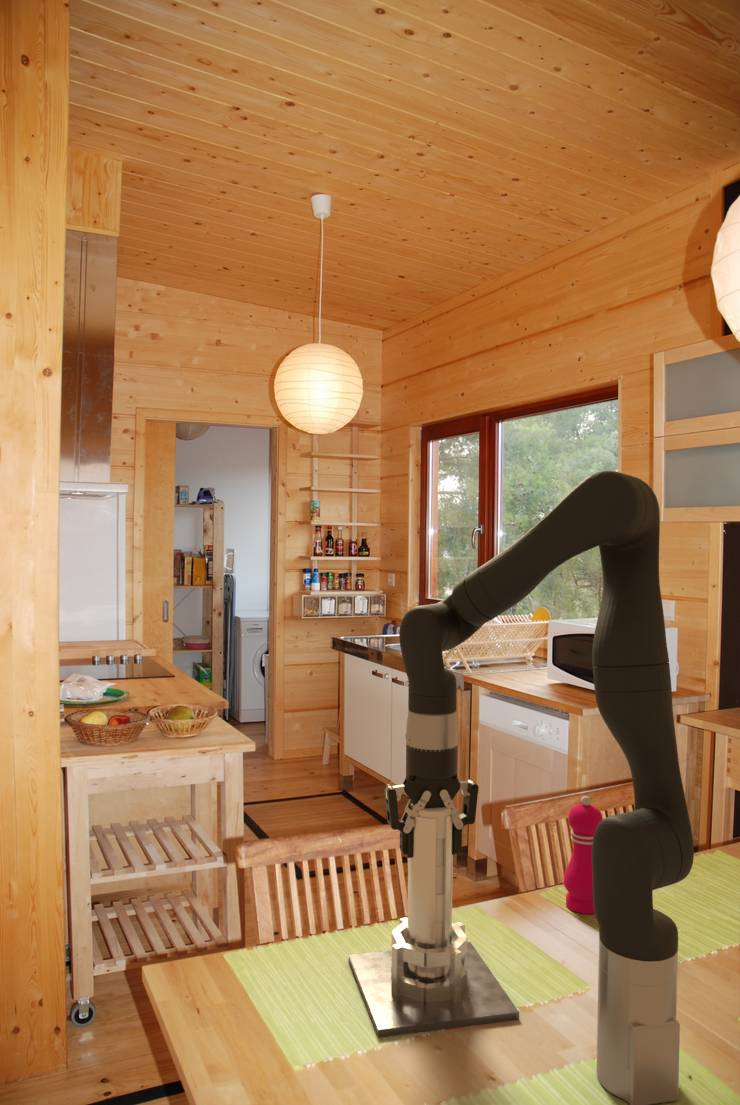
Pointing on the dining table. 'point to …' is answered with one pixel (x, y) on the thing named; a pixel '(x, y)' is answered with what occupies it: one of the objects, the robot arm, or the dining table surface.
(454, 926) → the collar stand
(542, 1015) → the dining table surface
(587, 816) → the pepper mill
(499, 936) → the dining table surface
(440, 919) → the cream peg
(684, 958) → the dining table surface
